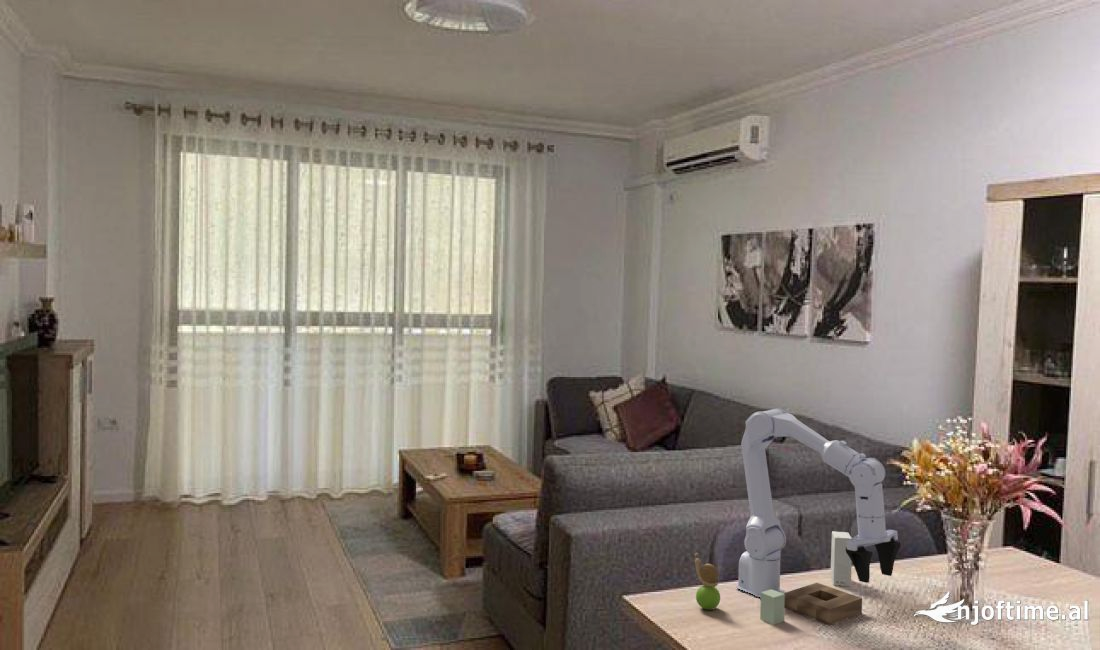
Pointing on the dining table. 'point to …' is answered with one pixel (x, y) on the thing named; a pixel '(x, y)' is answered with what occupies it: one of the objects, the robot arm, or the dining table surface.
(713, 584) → the snail figurine
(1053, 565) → the dining table surface
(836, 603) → the walnut socket block
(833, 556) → the skincare box
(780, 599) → the sage peg
